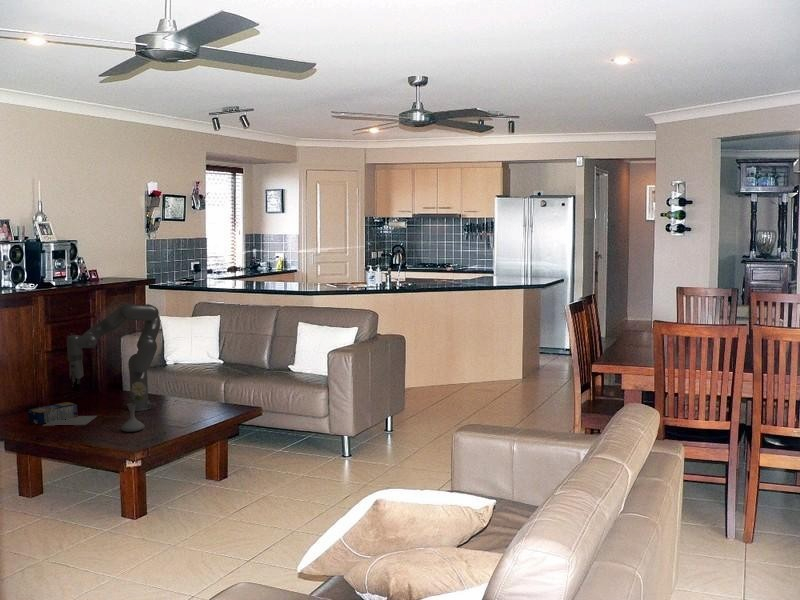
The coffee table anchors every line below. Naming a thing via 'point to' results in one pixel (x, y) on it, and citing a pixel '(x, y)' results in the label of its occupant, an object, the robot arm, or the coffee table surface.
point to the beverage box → (52, 413)
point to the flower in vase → (133, 423)
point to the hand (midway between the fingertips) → (76, 390)
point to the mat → (72, 421)
